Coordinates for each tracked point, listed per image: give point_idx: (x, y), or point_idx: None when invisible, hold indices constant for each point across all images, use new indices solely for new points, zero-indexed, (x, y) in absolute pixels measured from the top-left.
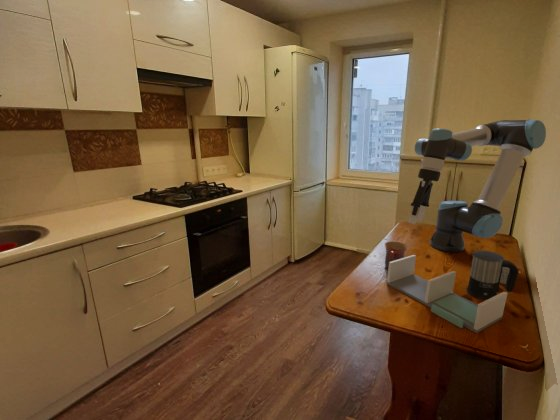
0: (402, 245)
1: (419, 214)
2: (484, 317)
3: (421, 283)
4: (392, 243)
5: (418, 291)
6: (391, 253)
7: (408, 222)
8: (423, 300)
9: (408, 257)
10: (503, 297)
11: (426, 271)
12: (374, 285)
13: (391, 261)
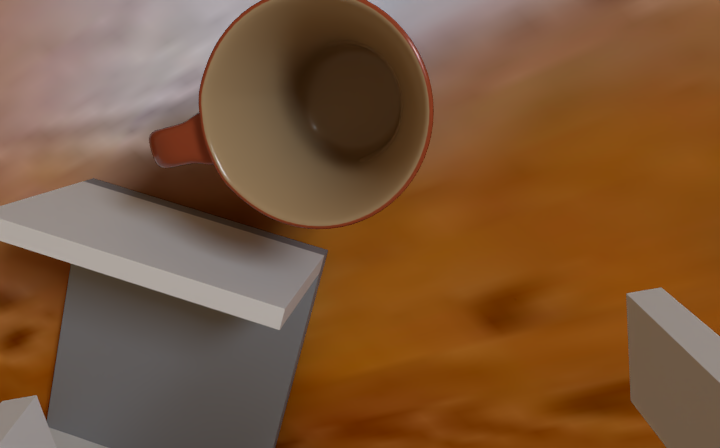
0: (409, 146)
1: (695, 408)
2: None
3: (228, 353)
4: (386, 35)
5: (121, 370)
6: (153, 145)
7: (2, 411)
8: (52, 418)
9: (188, 295)
10: None
11: (474, 308)
12: (18, 129)
13: (6, 221)
